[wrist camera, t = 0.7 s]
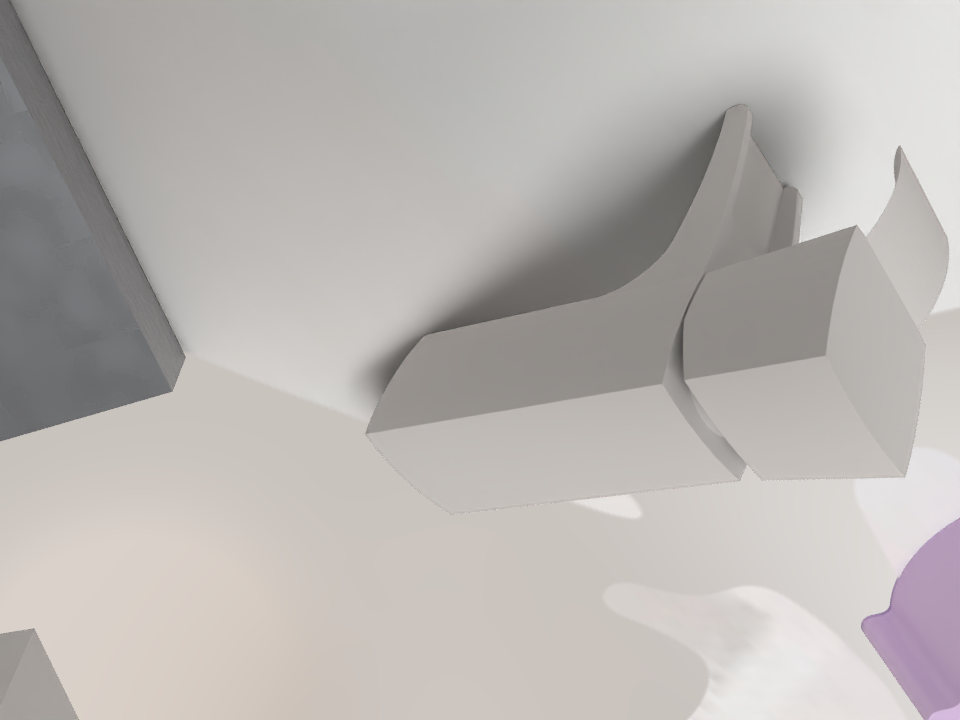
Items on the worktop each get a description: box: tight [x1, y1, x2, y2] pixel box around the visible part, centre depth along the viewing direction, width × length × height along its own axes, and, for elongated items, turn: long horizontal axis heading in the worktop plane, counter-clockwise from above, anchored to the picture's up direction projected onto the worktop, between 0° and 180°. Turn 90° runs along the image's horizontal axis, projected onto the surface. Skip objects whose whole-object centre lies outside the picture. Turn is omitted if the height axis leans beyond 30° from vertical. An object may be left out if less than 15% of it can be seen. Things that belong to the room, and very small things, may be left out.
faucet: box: [365, 105, 949, 515], centre depth 34 cm, size 6×16×20 cm
